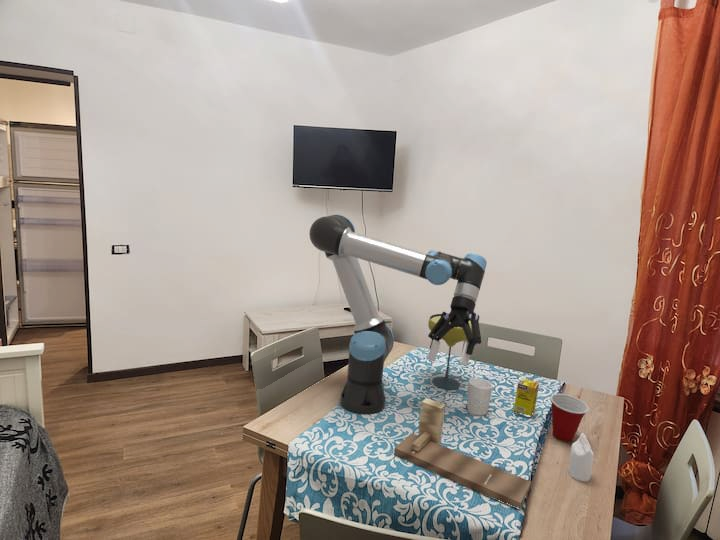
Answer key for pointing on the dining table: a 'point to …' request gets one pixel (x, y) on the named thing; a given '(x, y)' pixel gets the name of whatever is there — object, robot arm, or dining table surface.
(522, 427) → the dining table surface
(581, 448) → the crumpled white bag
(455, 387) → the cocktail glass
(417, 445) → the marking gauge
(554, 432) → the plastic cup
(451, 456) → the walnut board
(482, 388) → the white cup
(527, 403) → the supplement box
